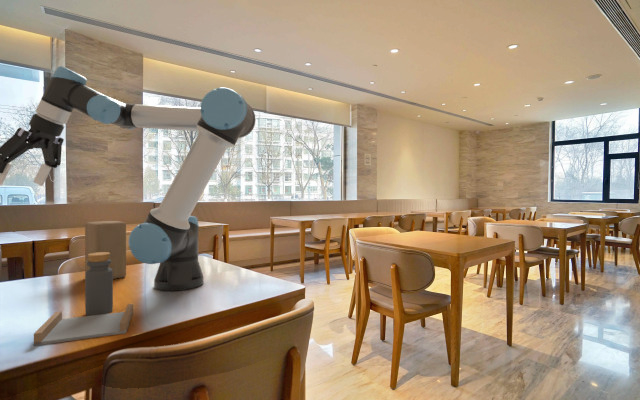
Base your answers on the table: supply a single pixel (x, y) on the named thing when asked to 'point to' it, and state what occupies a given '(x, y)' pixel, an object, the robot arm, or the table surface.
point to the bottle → (98, 285)
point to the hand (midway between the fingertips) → (18, 183)
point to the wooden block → (107, 244)
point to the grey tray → (82, 327)
